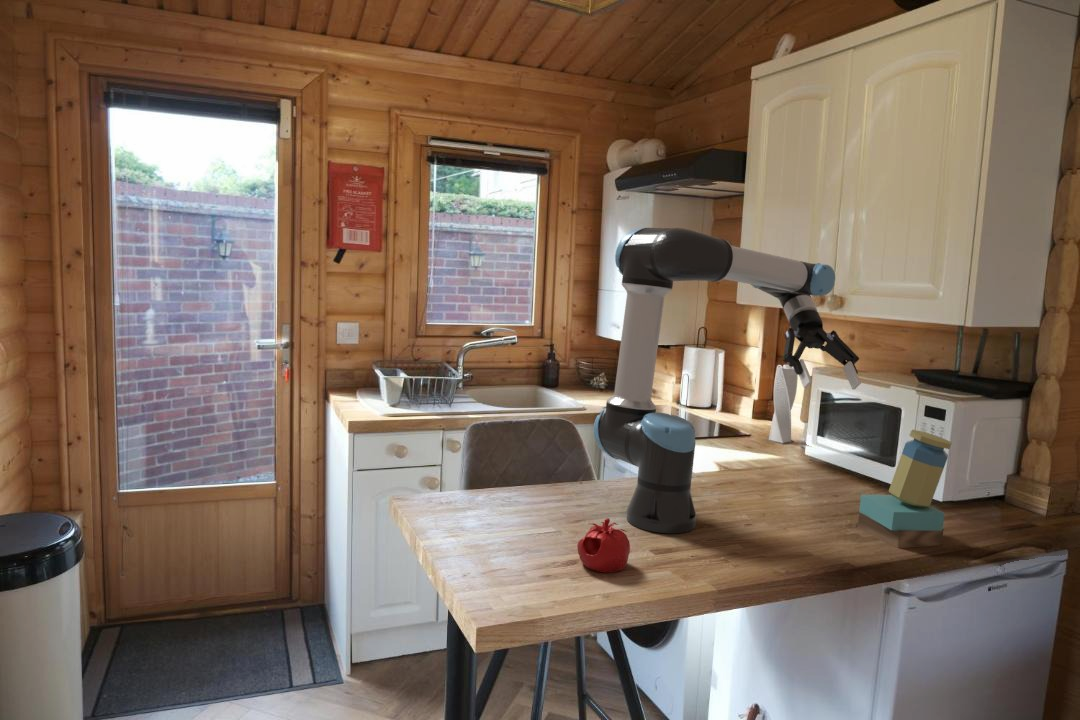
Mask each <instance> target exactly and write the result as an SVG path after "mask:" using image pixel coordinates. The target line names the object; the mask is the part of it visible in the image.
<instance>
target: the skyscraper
mask: <svg viewBox="0 0 1080 720" xmlns="http://www.w3.org/2000/svg"><path fill="white" fill-rule="evenodd" d="M774 375H775V377H774V382H773V408H774V412H773V415H772V421H771V425H770V430H769V436H768V437H767V438H766V437H765V438H764V441H768V442H773V443H776V444H780V445H786V444H787V445H788V444H791V443H794V440H792V409H793V406H794V403H795V399H796V396H797V395H796V394H797V387H798V378H799V375H797V374H796V372H795V370H794V367H790V366H789V364H783V366H782V365H781V364H778V365H776V370H775V374H774Z"/></svg>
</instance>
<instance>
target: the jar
mask: <svg viewBox="0 0 1080 720" xmlns="http://www.w3.org/2000/svg"><path fill="white" fill-rule="evenodd" d="M909 437H911V438H912V440H908V441H906V442H905V443H904V447H903V449H902V452H901V455H900V457H899V460H898V463H897V466H896V469H895V472H894V474H893V478H892V479H891V480H892V481H891V483H890V486H889V489H888V493H890V494H889V495H892V496H894V497H895V498H897V499H898V500H900V501H902V502H905V503H908V504H910V505H913V506H918V507H930V506H931V504H932V502H933V499H934V496H935V493H936V490H937V487H938V485H939V482H940V480H941V478H942V474H943V471H944V469H945V466H946V463H947V462H948V461H947V460H948V458H949V454H948V453H947V452H946V451H945V450H950V449H951V446H952V443H953V442H952V441H950V440H947V439H946V438H943V437H941V436H938V435H935V434H933V433H930V432H926V431H922V430H916V429H911V431H910V433H909Z"/></svg>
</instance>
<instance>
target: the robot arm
mask: <svg viewBox="0 0 1080 720" xmlns="http://www.w3.org/2000/svg"><path fill="white" fill-rule="evenodd" d="M614 259H615V265H616V266H615V267H617V268H618V272H619V273H620V274H621V275H622V279H621V285H622V287H623V288H624V290H625V291H626V299H625V300H626V301H625V307H624V314H623V324H622V332H621V338H620V339H621V340H620V347H619V355H618V363H617V369H616V377H615V384H614V393H613V394H612V396H610V397H609V398H607V400H606V403H605V404H606V405H605V407H604V408H602V410H600V412H599V413H600V414H597V416H596V417H595V420H594V423H593V437H594V441H595V443H596V445H597V446H598V448H599V449H600V450H601V451H602V452H603V453H604V454H606V455H608V456H609V457H611V458H613V459H615V460H620V461H622V462H624V463H627V464H630V465H632V466H635V467H637V468H638V471H637V472H638V473H637V484H636V487H635V489H634V492H633V494H632V497H631V499H630V501H629V504H628V506H627V510H626V520H627V522H628V523H630V525H633V526H634V527H636V528H639V529H640V530H641V529H642V530H645V531H649V532H653V533H661V534H682V533H683V534H684V533H687V532H692V531H693V530H694V529H695V528H696V524H697V513H696V510H695V505H694V501H693V497H692V493H691V491H692V489H691V487H692V479H693V478H692V477H693V469H694V468H693V467H694V459H695V449H696V430H695V426H694V425H693V424H692V423H691V422H690V421H689V420H687V419H685V418H684V417H681V416H678V415H675V414H669V413H665V412H656V411H657V405H655V403H654V402H653V401H652V393H653V392H652V391H653V385H654V379H655V378H654V377H655V372H656V363H657V354H658V347H659V339H660V332H661V324H662V318H663V309H664V303H665V302H664V301H665V297H666V296H667V295H668V294H669V293H671V292H672V291H673V286H674V282H686V281H687V282H689V281H690V282H692V281H694V282H695V281H697V282H698V281H699V282H701V281H703V282H704V281H705V282H711V283H718V282H720V281H723V280H726V281H732V282H737V283H743V284H748V285H749V284H750V286H752V287H754V288H755V289H757V290H760V291H762V292H764V293H766V294H768V295H770V296H772V297H774V298H775V299H778V300H779V302H780V304H781V307H782V309H783V312H784V314H785V317H786V318H787V321H788V323H789V326H790V327H789V328H788V329H787V331H786V332H784V336H783V337H784V338H785V344H784V348H783V349H784V350H783V356H782V357H783V358H782V361H783V362H784V363H785V364H786V363H788V365H789V366H790V367H794V370H795V372H796V374H797V375H798V378H799V380H800V382H801V384H802V387H803V388H804V389H807V388H808V387H809V386H810V385H811V383H812V382H813V379H812V377H811V375H810V372H809V370H808V368H807V365H806V363H805V361H804V359H802V358H801V357H802V354H803V353H804V351H805V350H806V349H805V348H808V349H816V350H817V349H818V350H821V352H826V353H827V354H828V355H830V356H831V357H832V358H833V359H835V360H836V361H838V362H839V363H840V364H842V365H843V367H842V369H843V372H844V374H845V376H846V378H847V381H848V383H849V385H850V387H851V389H852V390H856V389H857V388H858V387H859V386H860V385H861V384H862V382H861V380H860V378H859V377H860V376H858V375H859V372H858V370H857V367H856V364H857V362H858V361H859V360H860V358H859V356H858V355H857V354H856V353H855V352H854V351H853V350H852V349H851V348H850V347H849V345H847V344H846V343H845V342H844V340H843V339H841V337H839V335H838V333H837V331H836V330H834V329H833V330H831V331H830V332H827V331H825V329H824V327H823V326H824V325H823V323H824V322H823V319H822V318H821V316H820V314H819V312H818V309H817V307H816V305H815V302H814V300H813V297H812V296H815V297H816V296H826V295H828V294H830V293H831V292H832V291H833V290H834V287H835V285H836V283H835V281H836V273H835V270H834V269H833V267H832V266H831V265H829V264H825V263H820V262H819V263H810V262H806V261H802V260H801V261H800V260H797V259H792V258H788V257H783V256H779V255H775V254H771V253H770V254H769V253H766V252H761V251H756V250H751V249H748V248H743V247H738V246H734V245H731V243H730V242H729V241H728V240H727V239H724V238H721V237H717V236H712V235H710V234H707V233H702V232H700V231H696V230H692V229H688V228H683V227H643V228H637V229H634V230H631V231H629V232H627V233H626V234H625V235H624V236H623V237H622V238H621V240H619V242H618V245H617V246H616V250H615V255H614ZM796 340H798V341H799V345H798V346H797V348H796V351H795V353H794V347H795V341H796ZM825 343H826V344H825Z"/></svg>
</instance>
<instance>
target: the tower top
mask: <svg viewBox="0 0 1080 720" xmlns="http://www.w3.org/2000/svg"><path fill="white" fill-rule="evenodd" d="M858 511H859V513H862V514H864V515H866V516H868V517H869V518H871V519H873V520H875V521H876V522H878V523H880V524H881V525H883V526H885V527H887V528H888V529H890V530H920V531H942V529H944V521H945V515H946V513H945V512H944V511H942V510H940V509H938V508H936V507H934V506H933V505H930V507H918V506H913V505H910V504H908V503H905V502H902V501H900V500H898V499H897V498H895V497H894V496H892V495H891V494H860V503H859V510H858Z"/></svg>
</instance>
